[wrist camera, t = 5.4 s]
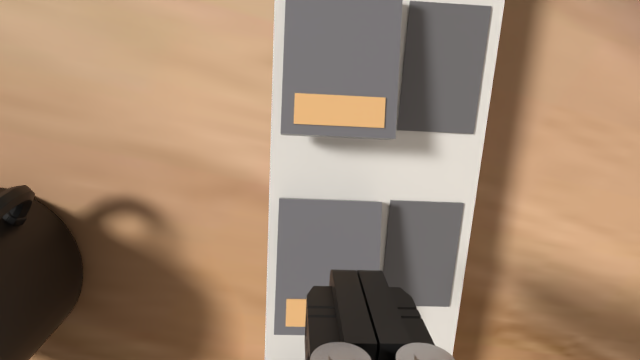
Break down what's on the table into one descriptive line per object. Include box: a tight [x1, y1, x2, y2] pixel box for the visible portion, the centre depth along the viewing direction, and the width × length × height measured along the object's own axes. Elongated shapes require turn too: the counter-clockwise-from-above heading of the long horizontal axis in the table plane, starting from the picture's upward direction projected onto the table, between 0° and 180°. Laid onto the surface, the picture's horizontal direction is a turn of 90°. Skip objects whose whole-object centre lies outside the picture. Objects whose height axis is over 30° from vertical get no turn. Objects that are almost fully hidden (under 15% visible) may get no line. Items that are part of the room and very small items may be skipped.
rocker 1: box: [280, 0, 403, 140], centre depth 19 cm, size 6×5×2 cm
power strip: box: [265, 0, 505, 360], centre depth 25 cm, size 30×10×4 cm, turn 177°
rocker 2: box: [274, 198, 382, 335], centre depth 21 cm, size 6×5×2 cm
